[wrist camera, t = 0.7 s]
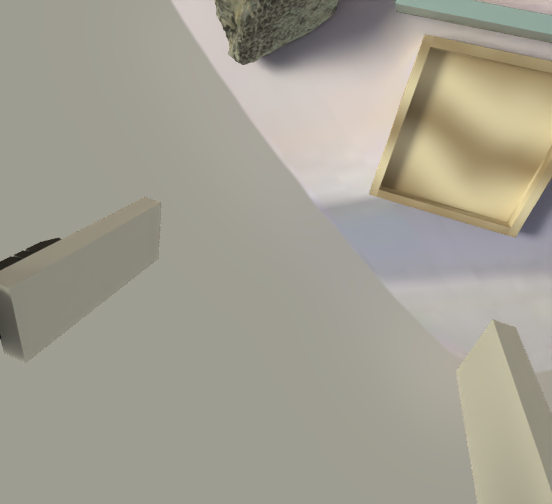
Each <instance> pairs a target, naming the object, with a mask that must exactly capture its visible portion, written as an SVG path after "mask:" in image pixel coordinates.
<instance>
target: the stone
mask: <svg viewBox="0 0 552 504" xmlns="http://www.w3.org/2000/svg"><path fill="white" fill-rule="evenodd" d="M338 2H339V0H215V4H216V9H217V16H218V19H219V20H220V22H221V24H222V26H223V29H224V31H225V32H226V37H227V38H228V41H229V51H228V54H229V55H230V56H231V57H232V58H234V60H235V61H236V62H238V63H241V64H242V65H245V64H248V63H250V62H255V61H257V60H258V59H259V58H261V57H262V56H264V55H269V54H270V53H271V52H273V51H274V50H276V49H277V48H280V47H282V46H284V45H285V44H287V43H289V42H291V41H293V40H295V39H298V38H300V37H302V36H304V35H305V34H307V33H309V32H311V31H313V30H314V29H315V28H316V27H318V26H319V25H320V24H322V23H323V22H324V21H326V20H327V19H328V18H329V17H330V16H331V15H333V14H334V13H335V11H336V9H337V7H336V5H337V3H338Z"/></svg>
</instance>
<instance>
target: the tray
mask: <svg viewBox="0 0 552 504" xmlns="http://www.w3.org/2000/svg"><path fill="white" fill-rule="evenodd" d="M551 178H552V61H548V60H543V59H539V58H534V57H529V56H524V55H520V54H515V53H510V52H505V51H501V50H496V49H491V48H487V47H482V46H477V45H472V44H468V43H463V42H458V41H453V40H449V39H444V38H439V37H435V36H430V35H425V36H424V38H423V41H422V44H421V47H420V49H419V52H418V55H417V58H416V61H415V64H414V67H413V69H412V72H411V75H410V78H409V81H408V84H407V87H406V89H405V92H404V95H403V98H402V101H401V104H400V107H399V109H398V112H397V115H396V118H395V121H394V124H393V127H392V129H391V132H390V135H389V138H388V141H387V144H386V147H385V149H384V152H383V155H382V158H381V161H380V164H379V167H378V169H377V172H376V175H375V178H374V181H373V184H372V187H371V190H370V193H369V194H370V195H373V196H376V197H380V198H383V199H387V200H390V201H393V202H397V203H400V204H403V205H407V206H410V207H414V208H417V209H420V210H424V211H427V212H430V213H434V214H437V215H441V216H444V217H447V218H451V219H454V220H458V221H461V222H464V223H468V224H471V225H474V226H478V227H481V228H485V229H488V230H491V231H495V232H498V233H501V234H505V235H508V236H512V237H516V235H517V234H518V232H519V230H520V229H521V227H522V226H523V224H524V222H525V221H526V219H527V217H528V216H529V214H530V212H531V211H532V209H533V207H534V206H535V204H536V202H537V201H538V199H539V198H540V196H541V194H542V193H543V191H544V189H545V188H546V186H547V184H548V183H549V181H550V179H551Z"/></svg>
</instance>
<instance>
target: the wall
mask: <svg viewBox="0 0 552 504" xmlns="http://www.w3.org/2000/svg"><path fill="white" fill-rule="evenodd" d="M395 7H396V11H397V12H402V13H407V14H412V15H417V16H422V17H427V18H431V19H436V20H441V21H446V22H451V23H456V24H461V25H466V26H471V27H476V28H481V29H486V30H491V31H495V32H500V33H505V34H510V35H515V36H520V37H525V38H530V39H535V40H540V41H545V42H550V43H552V15H547V14H541V13H536V12H531V11H526V10H520V9H515V8H510V7H505V6H499V5H494V4H489V3H484V2H478V1H473V0H396V2H395Z"/></svg>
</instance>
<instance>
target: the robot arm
mask: <svg viewBox="0 0 552 504" xmlns="http://www.w3.org/2000/svg"><path fill="white" fill-rule="evenodd" d="M160 219H161V202H157V201H155V200H152V199H149V198H146V197H144V198H142V199H140V200H138V201H136V202H134V203H132V204H130V205H128V206H126V207H124V208H122V209H120V210H118V211H117V212H114V213H112V214H111V215H109V216H107V217H105V218H103V219H101V220H99V221H97V222H95V223H93V224H91V225H89V226H87V227H85V228H83V229H81V230H79V231H77V232H75V233H73V234H71V235H69V236H68V237H66V238H63V239H60V238H55V239H51V240H47V241H43V242H40V243H38V244H35V245H33V246H31V247H30V248H27V249H26V251H21V252H19V253H17V254H15V255H14V257H9V258H7V259H5V260H3V261H1V262H0V339H1V342H2V346H3V350H4V353H5V354H7V355H9V356H11V357H13V358H16V359H18V360H20V361H22V362H24V363H26V362H27V361H29V360H30V359H32V358H33V357H34V356H35V355H37V354H38V353H39V352H40V351H41V350H43V349H44V348H46V347H47V346H48V345H49V344H51V343H52V342H53V341H54V340H56V339H57V338H58V337H59V336H61V335H62V334H63V333H65V332H66V331H67V330H68V329H69V328H71V327H72V326H73V325H75V324H76V323H77V322H79V321H80V320H81V319H82V318H83V317H85V316H86V315H87V314H89V313H90V312H91V311H92V310H94V309H95V308H96V307H98V306H99V305H100V304H101V303H103V302H104V301H105V300H106V299H108V298H109V297H110V296H112V295H113V294H114V293H115V292H117V291H118V290H119V289H120V288H122V287H123V286H124V285H126V284H127V283H128V282H129V281H131V280H132V279H133V278H135V277H136V276H137V275H138V274H140V273H141V272H142V271H143V270H144V269H146V268H147V267H149V266H150V265H151V264H152V263H154V262H155V261H156V260H157V259H159V239H160ZM456 376H457V382H458V388H459V394H460V400H461V406H462V412H463V418H464V424H465V431H466V437H467V443H468V449H469V455H470V461H471V467H472V473H473V479H474V485H475V492H476V498H477V503H478V504H552V413H551V411H550V409H549V406H548V404H547V401H546V399H545V397H544V394H543V392H542V389H541V387H540V385H539V382H538V380H537V377H536V375H535V373H534V370H533V368H532V365H531V363H530V361H529V358H528V356H527V354H526V351H525V349H524V346H523V344H522V342H521V339H520V337H519V334H518V332H517V330H516V328H515V327H513V326H510V325H507V324H504V323H501V322H498V321H496V320H492V321H491V323H490V324H489V326H488V327H487V328H486V330H485V331H484V333H483V334H482V336H481V337H480V338H479V340H478V341H477V343H476V344H475V346H474V347H473V348H472V350H471V351H470V353H469V354H468V356H467V357H466V358H465V360H464V361H463V363H462V364H461V366H460V367H459V369H458V370H457V371H456Z"/></svg>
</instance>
